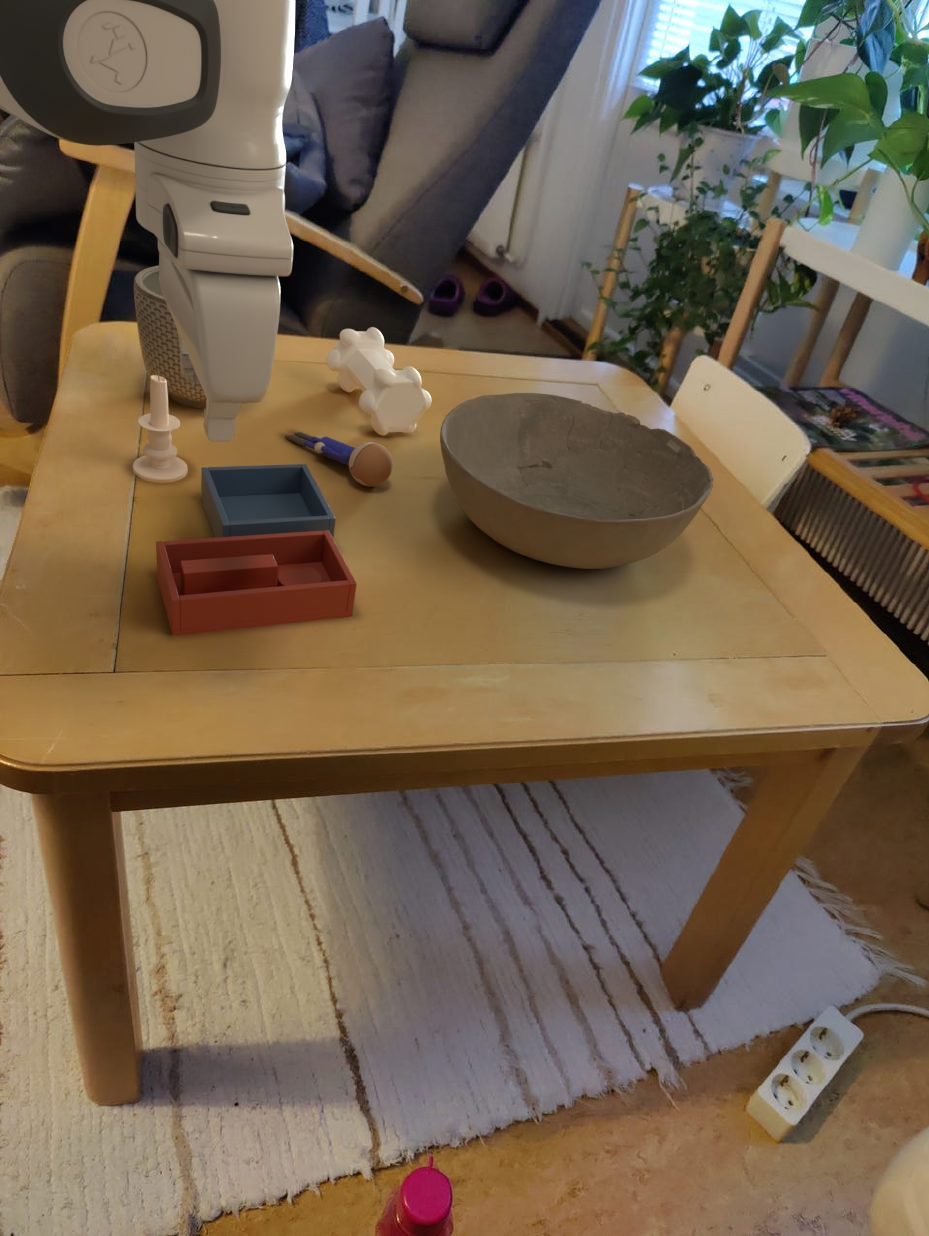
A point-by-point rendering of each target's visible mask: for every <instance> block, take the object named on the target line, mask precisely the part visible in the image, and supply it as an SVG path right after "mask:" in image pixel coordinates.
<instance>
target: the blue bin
mask: <svg viewBox="0 0 929 1236" xmlns="http://www.w3.org/2000/svg"><path fill="white" fill-rule="evenodd" d="M200 470H201V471H200V475H201V477H200V500H201V503H202V506H203V508H204V510H205V514H206V517H207V519H208V523H209V525H210V528H211V531H212V534H213V536H214V537H213V538H219V537H234V536H249V535H264V534H279V533H294V532H310V531H325V530H329V532H330V534H331V536H332V537H333V539H334V538H335V537H334V536H335V530H336V529H335V527H336V519H337V518H336V517H335V514H334V512H333V511H332V509H331V507H330V505H329V504H328V502H327V500H326V498H325V496H324V494H323V492H322V490H321V489H320V487H319V484H318V483H317V482H316V480H315V477H314V476H313V474H312V472H311V470H310V469H309V467H308V465H307V464H306V463H301V464H300V463H296V464H295V463H294V464H264V465H262V464H261V465H260V464H259V465H231V466H229V465H228V466H204V467H201V469H200Z"/></svg>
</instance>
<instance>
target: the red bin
mask: <svg viewBox="0 0 929 1236" xmlns="http://www.w3.org/2000/svg"><path fill="white" fill-rule="evenodd" d="M267 554H273V556H274V559H275V561H276V563H277V566H278V569H277V576H278V573H279V571H280V570H281V569H282V568H284V567H286V566H289V565H306V566H309V567H312V568H314V569H316V570H317V571H318V572H319V573H320V574H321V576H322V583H312V584H301V585H290V586H279V587H277V583H276V587H268V588H258V589H247V590H236V591H225V592H214V593H203V594H192V595H181V575H180V561H185V560H199V559H213V558H226V557H240V556H254V555H267ZM155 556H156V557H155V559H156V578H157V581H158V585H159V589H160V593H161V597H162V601H163V605H164V609H165V613H166V616H167V621H168V624H169V628H170V632H171V636H172V637H176V636H184V635H185V636H186V635H194V634H195V635H196V634H203V633H211V632H212V633H213V632H220V631H221V632H222V631H230V630H231V631H232V630H238V629H247V628H248V629H249V628H250V629H251V628H257V627H258V628H259V627H266V626H274V625H275V626H277V625H285V624H294V623H303V622H304V623H305V622H313V621H320V620H321V621H322V620H329V619H338V618H349V617H353V611H354V606H355V598H356V590H357V582H356V579H355V578H354V575H353V574H352V571H351V570H350V568H349V566H348V564H347V562H346V561H345V559H344V556H343V554H342V553H341V550H340V549H339V547H338V545H337V543H336V541H335V539H334V538H333V537H332V536H331V534H330V532H329V530H325V531H310V532H294V533H279V534H264V535H249V536H234V537H219V538H215V537H206V538H205V537H204V538H192V539H191V538H190V539H175V540H160V541H159V540H158V541H155Z"/></svg>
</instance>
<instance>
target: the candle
mask: <svg viewBox="0 0 929 1236" xmlns="http://www.w3.org/2000/svg"><path fill="white" fill-rule="evenodd" d="M149 378H150V383H149V384H150V387H149V401H150V403H149V406H150V407H149V408H150V409H149V412H150V413H149V412H148V413H145V414H143V415H141V416H140V417H139V418H138V419H137V423H138V425H139V426H140V427H141V428H143V429H145V430H147V431H148V433H147V441H148V443H147V442H146V443H145V444H144V445H143V446H142V453H143V455H142V456H140V457H138V458H137V459H135V460H134V462H133V463H132V472H133V473H134V475H135V476H136V477H138V478H139V479H142V480H144V481H147V482H150V483H156V484H167V483H174V482H177V481H180V480H183V479H184V478H185V477H186V476H187V474H188V464H187V463H186V461H184V460H183V459H182V458H180V457H178V456H177V454H178V448H177V446H175V444H172V439H173V436H172V432H173V431H175V430H177V429H178V428H180V426H181V421H180V419H179V418H178V417H176V416H174V415H172V414H169V393H168V392H167V381H166V379H165V378H163V377H161V376H159V373H158V376H157V375H152V376H149Z"/></svg>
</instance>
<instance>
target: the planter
mask: <svg viewBox="0 0 929 1236" xmlns="http://www.w3.org/2000/svg"><path fill="white" fill-rule="evenodd" d="M133 297H134V307H135V308H134V309H135V316H136V317H135V318H136V326H137V333H138V341H139V346H140V347H139V348H140V352H141V357H142V361H143V365H144V368H145V370H146V372H147V374H148V376H149V377H150V376H152V375H157V376H158V373H159V376H161V377H163V378H165V379H166V381H167V392H168V396H169V397H170V398H171V399H172V400H173V401H175V402H176V403H177V404H180V405H182V406H185V407H188V408H192V409H199V410H204V408H206V403H207V398H206V396H205V394H204V391H203V388H202V386H201V384H200V382H196V381H195V382H188V381H186V380H185V378H184V376H183V374H182V372H181V369H180V346H179V339H178V332H177V327H176V325H175V322H174V320H173V318H172V315H171V313H170V311H169V308H168V306H167V303H166V301H165V299H164V296H163V294H162V292H161V287H160V279H159V265H155V266H150V267H147V268H144V269H142V270H140V271H139V272H138V273H137V274H136V275H135V276H134V279H133Z"/></svg>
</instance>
